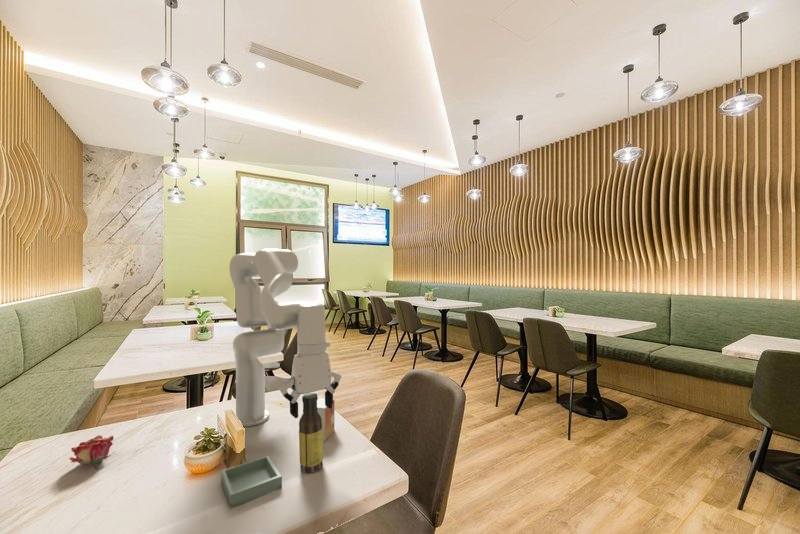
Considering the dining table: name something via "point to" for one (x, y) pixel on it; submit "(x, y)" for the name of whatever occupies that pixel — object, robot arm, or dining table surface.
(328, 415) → the small box
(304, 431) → the sauce bottle
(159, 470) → the dining table surface
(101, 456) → the flower
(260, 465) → the tray
